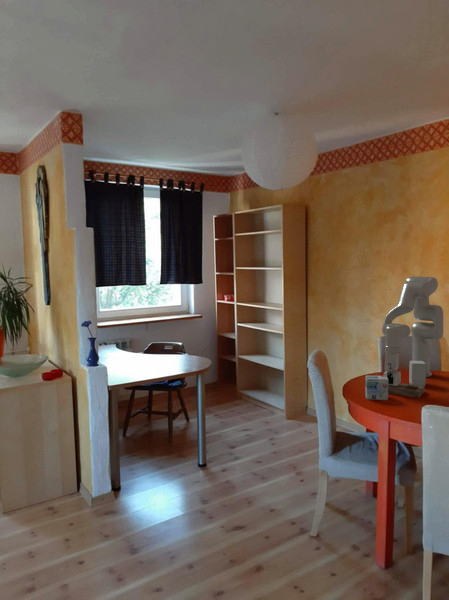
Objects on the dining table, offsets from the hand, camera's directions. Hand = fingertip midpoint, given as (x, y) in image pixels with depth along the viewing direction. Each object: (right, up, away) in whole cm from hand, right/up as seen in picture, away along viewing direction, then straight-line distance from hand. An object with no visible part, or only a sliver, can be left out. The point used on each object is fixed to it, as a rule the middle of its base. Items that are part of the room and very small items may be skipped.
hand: (392, 381), depth 244 cm
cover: (0, -1, 0) cm, 1 cm away
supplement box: (+18, -3, +11) cm, 21 cm away
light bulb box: (-12, -6, -11) cm, 17 cm away
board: (+4, -5, -2) cm, 7 cm away
